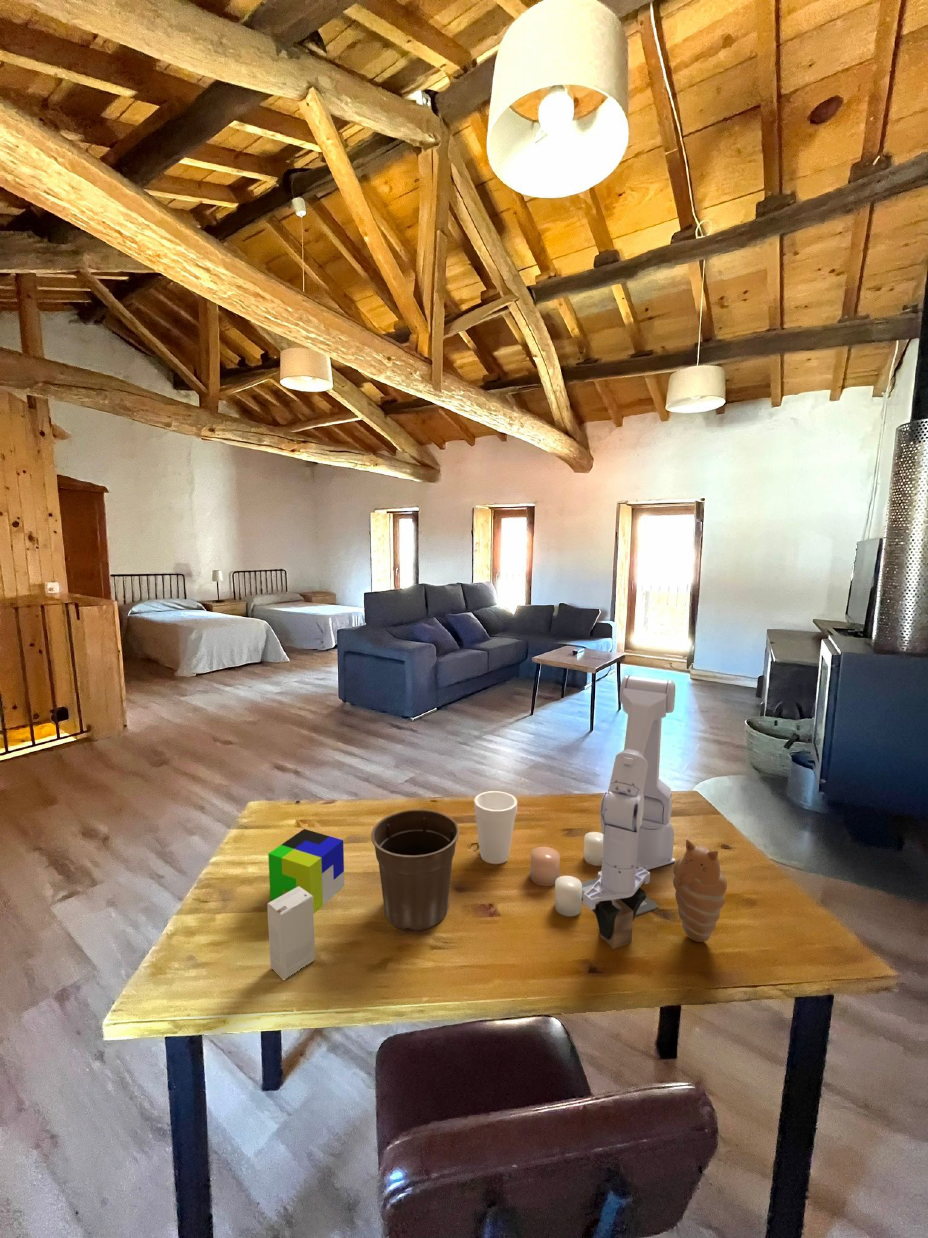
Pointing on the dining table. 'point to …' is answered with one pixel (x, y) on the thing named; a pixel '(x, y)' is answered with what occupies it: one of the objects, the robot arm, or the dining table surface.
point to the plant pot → (415, 866)
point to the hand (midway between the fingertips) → (615, 930)
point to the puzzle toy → (308, 866)
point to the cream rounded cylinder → (593, 848)
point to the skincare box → (291, 932)
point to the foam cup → (495, 824)
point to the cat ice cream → (699, 890)
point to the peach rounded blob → (544, 866)
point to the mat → (644, 907)
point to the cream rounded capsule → (568, 895)
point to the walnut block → (621, 925)
